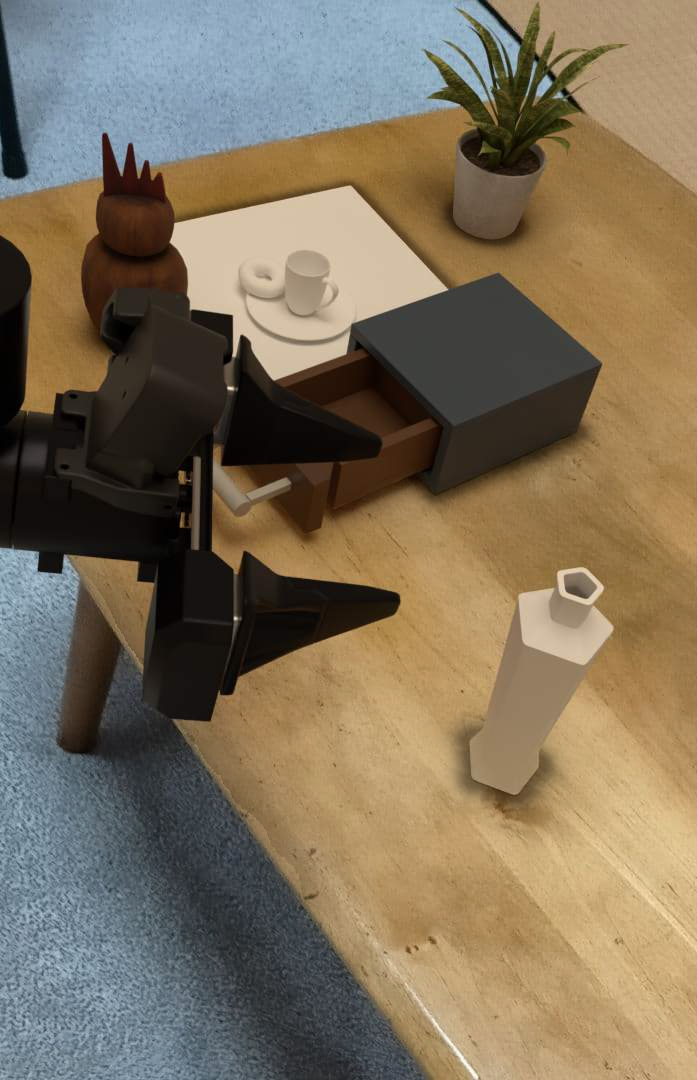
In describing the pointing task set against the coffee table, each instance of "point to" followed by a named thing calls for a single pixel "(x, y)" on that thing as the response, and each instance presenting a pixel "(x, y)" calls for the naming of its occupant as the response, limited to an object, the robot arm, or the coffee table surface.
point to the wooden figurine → (130, 236)
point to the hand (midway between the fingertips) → (388, 521)
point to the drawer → (303, 489)
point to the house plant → (507, 129)
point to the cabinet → (482, 374)
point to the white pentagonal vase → (538, 676)
